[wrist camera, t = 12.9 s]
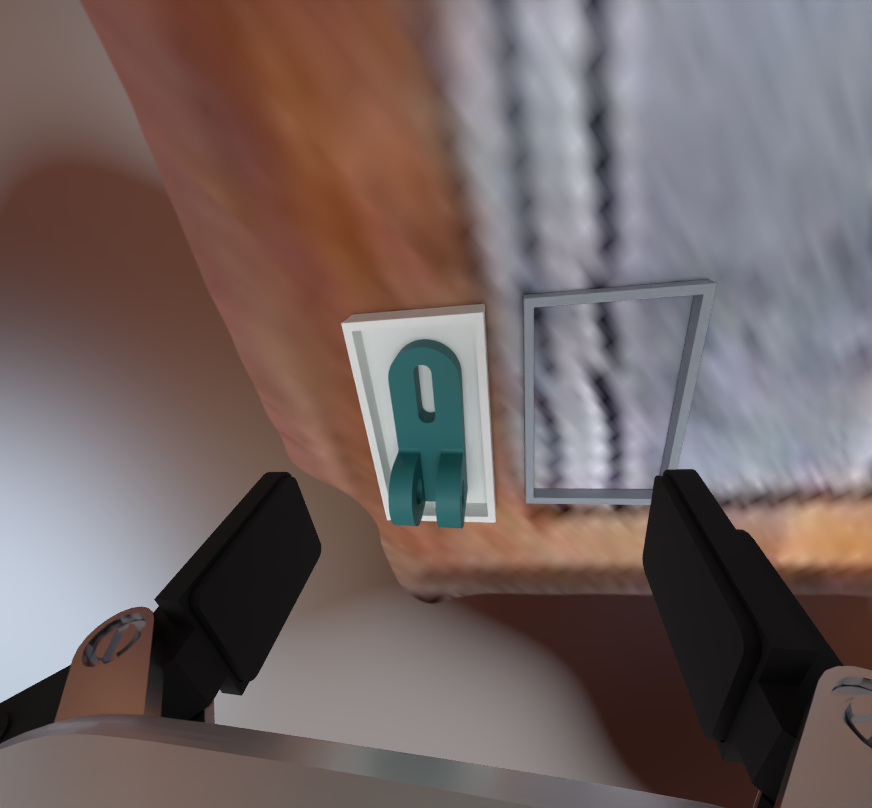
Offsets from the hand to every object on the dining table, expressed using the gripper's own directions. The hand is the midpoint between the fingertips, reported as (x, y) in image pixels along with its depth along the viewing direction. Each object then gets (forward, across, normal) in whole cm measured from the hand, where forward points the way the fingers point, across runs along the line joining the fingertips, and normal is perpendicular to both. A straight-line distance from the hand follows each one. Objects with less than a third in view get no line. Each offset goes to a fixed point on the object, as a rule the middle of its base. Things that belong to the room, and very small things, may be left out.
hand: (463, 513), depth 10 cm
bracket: (+26, +7, +13) cm, 30 cm away
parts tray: (+27, +8, +13) cm, 31 cm away
